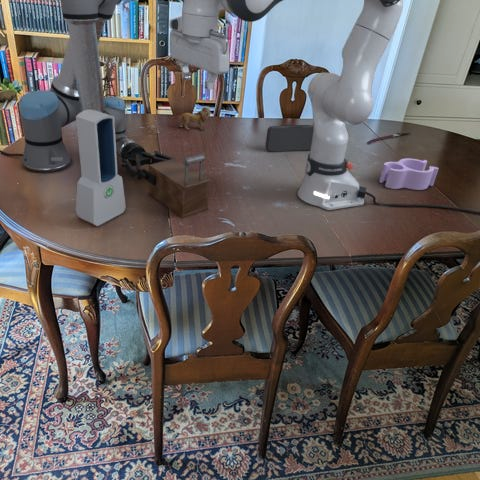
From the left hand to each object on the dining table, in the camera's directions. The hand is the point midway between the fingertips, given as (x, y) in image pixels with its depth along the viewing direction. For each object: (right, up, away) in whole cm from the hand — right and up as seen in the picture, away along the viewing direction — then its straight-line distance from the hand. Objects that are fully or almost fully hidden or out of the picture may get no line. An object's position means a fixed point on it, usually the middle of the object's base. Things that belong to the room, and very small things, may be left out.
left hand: (168, 176), depth 145 cm
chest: (+3, -8, +1) cm, 8 cm away
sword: (+91, +27, +69) cm, 117 cm away
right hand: (+11, +21, -24) cm, 34 cm away
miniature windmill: (-31, +26, +47) cm, 62 cm away
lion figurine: (+2, +29, +57) cm, 64 cm away
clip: (+84, +1, +28) cm, 88 cm away
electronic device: (-18, -13, -11) cm, 24 cm away
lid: (+4, 0, -5) cm, 6 cm away
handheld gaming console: (+43, +17, +46) cm, 65 cm away
